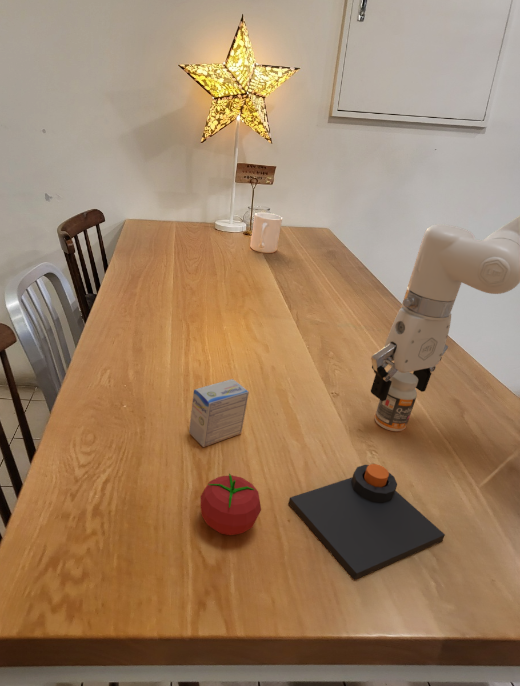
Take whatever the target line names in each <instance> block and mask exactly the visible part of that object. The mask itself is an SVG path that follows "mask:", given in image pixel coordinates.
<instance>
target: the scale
mask: <svg viewBox="0 0 520 686" xmlns="http://www.w3.org/2000/svg"><path fill="white" fill-rule="evenodd" d="M369 465H370V464H363V465H359V466H356V468H355V470H354V471H353V474H352V477H349V478H346V479H342V480H340V481H336V482H333V483H331V484H327V485H324V486H321V487H318V488H314V489H312V490H309V491H306V492H303V493H299V494H296V495H293V496H290V497H289V499H288V505H289V506H290V507H291V509H292V510H293V511H294V513H295V514H297V515H298V517H299V518H300V519H301V520H302V521H303V523H304V524H305V525H306V526H307V527H308V528H309V529H310V531H311V532H312V533H313V534H314V535H315V536H316V537H317V539H318V540H319V541H320V542H321V543H322V545H323V546H324V547H325V549H327V551H328V552H329V553H330V554H331V555H332V556H333V557H334V558H335V560H336V561H337V562H338V563H339V564H340V566H342V568H343V569H344V570H345V571H346V572H347V574H348V575H349V576H350V577H351V578H352V579H353V580H354V581H355V580H358V579H360V578H362V577H364V576H367V575H369V574H371V573H374V572H376V571H378V570H380V569H383V568H385V567H387V566H390V565H391V564H394V563H396V562H398V561H401V560H402V559H406V558H407V557H410V556H412V555H414V554H416V553H419V552H421V551H422V550H425V549H428V548H430V547H432V546H434V545H437V544H438V543H439V544H440V543H441V542H443V541H444V539H445V536H446V534H445V533H444V532H443V531H441V529H439V528H438V527H437V526H436V525H435V524H434V523H433V522H431V521H430V520H429V519H428V518H427V517H426V516H425V515H424V514H422V513H421V511H419V510H418V508H416V507H415V506H413V504H411V503H410V502H409V501H408V500H407V499H406V498H404V496H403V495H401V494H400V493H399V492H398V491H397V487H398V483H397V480H396V478H395V476H394V475H393V474H391V473H390V472H389V476H388V479H387V482H386V485H385V486H384V487H374V486H372V485H370V484H368V483H367V482H366V481H365V480H364V475H365V472H366V469H367V466H369Z"/></svg>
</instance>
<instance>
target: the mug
mask: <svg viewBox="0 0 520 686" xmlns="http://www.w3.org/2000/svg"><path fill="white" fill-rule="evenodd" d="M252 223H253V224H252V231H251V237H250V244H249V245H250V246H249V247H250V249H251V250H253V251H255V252H258V253H262V254H273V253H276V251H277V250H278V246H279V240H280V234H281V227H282V223H283V216H281V215H279V214H276V213H273V212H272V213H271V212H265V211H261V212H260V211H259V212H255V213H254V217H253V222H252Z"/></svg>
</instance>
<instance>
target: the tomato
mask: <svg viewBox="0 0 520 686" xmlns="http://www.w3.org/2000/svg"><path fill="white" fill-rule="evenodd" d="M261 511H262V506H261V500H260V494H259V491H258V490H257V488H256V487H255V486H254V484H253V483H251V482H250V481H248V480H246V479H244V478H243V477H241V476H237V475H232V474H231V473H228V475H221V476H218V477H216V478H213V479H212V480H209V482H208V483H207V485H206V486H205V488H204V489H203V491H202V493H201V495H200V513H201V517H202V518H203V520H204V521H205V523H206V525H207V526H209V527H210V528H211V529H213V531H216V532H218V533H219V534H222V535H225V536H235V535H241V534H243V533H245V532H248V531H249V530H250V529H252V528H253V527H254V525H255V523H256V521H257V519H258V517H259V515H260V513H261Z"/></svg>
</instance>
